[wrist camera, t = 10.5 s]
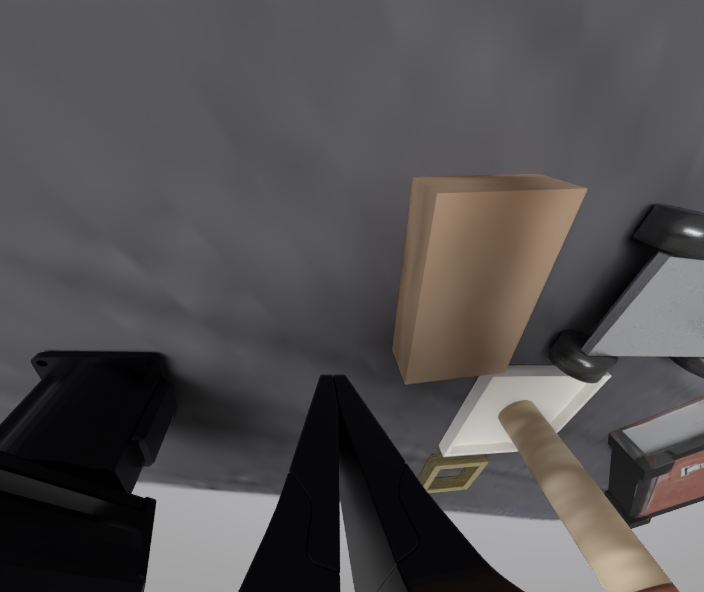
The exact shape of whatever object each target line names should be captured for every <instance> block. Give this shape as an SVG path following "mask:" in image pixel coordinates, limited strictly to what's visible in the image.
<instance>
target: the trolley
mask: <svg viewBox="0 0 704 592" xmlns="http://www.w3.org/2000/svg"><path fill="white" fill-rule="evenodd" d="M633 237H634V238H636V239H637V240H639V241H641V242H643V243H646V244H648V245H651V246H653V247H656V248H658V249H657V250H656V252H655V253H654V254H653V255H652V257H651V258H650V259H649V260H648V262H647V263H646V264H645V265H644V267H643V268H642V269H641V270H640V272H639V273H638V274H637V275H636V277H635V278H634V279H633V280H632V282H631V283H630V284H629V285H628V287H627V288H626V289H625V290H624V292H623V293H622V294H621V295H620V297H619V298H618V299H617V300H616V302H615V303H614V304H613V306H612V307H611V308H610V309H609V311H608V312H607V313H606V314H605V316H604V317H603V318H602V319H601V321H600V322H599V323H598V324H597V326H596V327H595V328H594V329H593V331H592V332H591V333H590V334H589V335H587V334H585V333H582V332H578V331H573V330H566V331H564V332H563V333H562V334H561V335H560V337H559V338H558V339H557V341H556V342H555V344H554V345H553V346H552V348H551V349H550V350H549V352H548V356H549V359H550V360H551V362H552V363H553V364H554V365H555V366H556V367H557V368H558V369H559V370H561V371H562V372H564V373H565V374H567V375H568V376H570V377H572V378H574V379H576V380H579V381H582V382H585V383H597V382H599V381H600V380H601V378H602V377H603V376H604V375H605V374H606V373H607V372H608V371H609V370H610V369H611V368H612V367H613V366H614V364H615V363H616V362H617V361H618V358H617V356H669V358H670V359H671V360H672V361H674V362H675V363H676V364H678V365H679V366H680V367H682V368H684V369H685V370H687V371H689V372H691V373H693V374H695V375H697V376H699V377H702V378H704V213H701V212H697V211H693V210H689V209H684V208H680V207H675V206H670V205H665V204H656V205H655V206H654V208H653V209H652V210H651V212H650V213H649V215H648V216H647V217H646V219H645V220H644V221H643V223H642V224H641V225H640V227H639V228H638V230H637V231H636V232H635V234H634V235H633Z"/></svg>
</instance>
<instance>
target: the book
mask: <svg viewBox="0 0 704 592" xmlns="http://www.w3.org/2000/svg"><path fill="white" fill-rule="evenodd" d="M608 444H609V445H610V446H611V447H612V454H611V466H610V477H609V489H608V491H605V496H606V498H607V499H608V500H609V501H610V503H611V504H612V505H613V507H614V508H615V509H616V510H617V512H618V513H619V514H620V516H621V517H622V518H623V519H624V521H625V522H626V523H627V525H628V526H629V527H630V529H632V528H635V527H638V526H641V525H644V524H648V523H649V522H650V520H651V518H652V517H655V516H658V515H661V514H664V513H667V512H670V511H673V510H676V509H679V508H682V507H685V506H688V505H691V504H694V503H697V502H700V501H703V500H704V396H703V397H701V398H698V399H696V400H693V401H690V402H688V403H685V404H683V405H680V406H677V407H675V408H672V409H670V410H667V411H665V412H662V413H659V414H657V415H654V416H652V417H649V418H646V419H644V420H641V421H639V422H636V423H633V424H631V425H628V426H626V427H623V428H620V429H618V430H615V431H613V432H610V433H609V438H608Z"/></svg>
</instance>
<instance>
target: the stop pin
mask: <svg viewBox="0 0 704 592" xmlns="http://www.w3.org/2000/svg"><path fill="white" fill-rule="evenodd" d="M498 419H499V421H500V423H501V424H502V426H503V428H504V429H505V431H506V432H507V434H508V436H509V437H510V439H511V440H512V442H513V444H514V445H515V447H516V448H517V450H518V452H519V453H520V455H521V456H522V458H523V460H524V461H525V463H526V464H527V466H528V468H529V469H530V471H531V472H532V474H533V476H534V477H535V479H536V480H537V482H538V484H539V485H540V487H541V489H542V490H543V492H544V493H545V495H546V497H547V498H548V500H549V501H550V503H551V505H552V506H553V508H554V509H555V511H556V513H557V514H558V516H559V517H560V519H561V521H562V522H563V524H564V525H565V527H566V529H567V530H568V532H569V533H570V535H571V537H572V538H573V540H574V541H575V543H576V545H577V546H578V548H579V550H580V551H581V553H582V554H583V556H584V557H585V559H586V560H587V562H588V564H589V565H590V567H591V569H592V570H593V572H594V573H595V575H596V577H597V578H598V580H599V582H600V583H601V585H602V586H603V588H604V590H605V591H606V592H679V591H678V589H677V588H676V587H675V586H674V584H673V583H672V582H671V581H670V579H669V578H668V576H667V575H666V574H665V573H664V572H663V570H662V569H661V567H660V566H659V565H658V564H657V562H656V561H655V560H654V558H653V557H652V556H651V555H650V553H649V552H648V551H647V549H646V548H645V547H644V545H643V544H642V543H641V541H640V540H639V539H638V538H637V536H636V535H635V534H634V532H633V531H632V530H631V529H630V527H629V526H628V525H627V523H626V522H625V521H624V519H623V518H622V517H621V516H620V514H619V513H618V512H617V510H616V509H615V508H614V507H613V505H612V504H611V503H610V501H609V500H608V499H607V498H606V496H605V495H604V494H603V492H602V491H601V490H600V488H599V487H598V486H597V485H596V483H595V482H594V481H593V479H592V478H591V477H590V476H589V474H588V473H587V472H586V470H585V469H584V468H583V466H582V465H581V464H580V463H579V461H578V460H577V459H576V457H575V456H574V455H573V454H572V452H571V451H570V450H569V448H568V447H567V446H566V444H565V443H564V442H563V441H562V439H561V438H560V437H559V435H558V434H557V433H556V432H555V430H554V429H553V428H552V426H551V425H550V424H549V422H548V421H547V420H546V419H545V417H544V416H543V415H542V413H541V412H540V411H539V410H538V408H537V407H536V406H535V404H534V403H533V402H532V401H529V400H521V401H517V402H514V403H512V404H510V405H508V406H506V407H505V408H504V409H503V410H502V411H501V412H500V413H499V415H498Z"/></svg>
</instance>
